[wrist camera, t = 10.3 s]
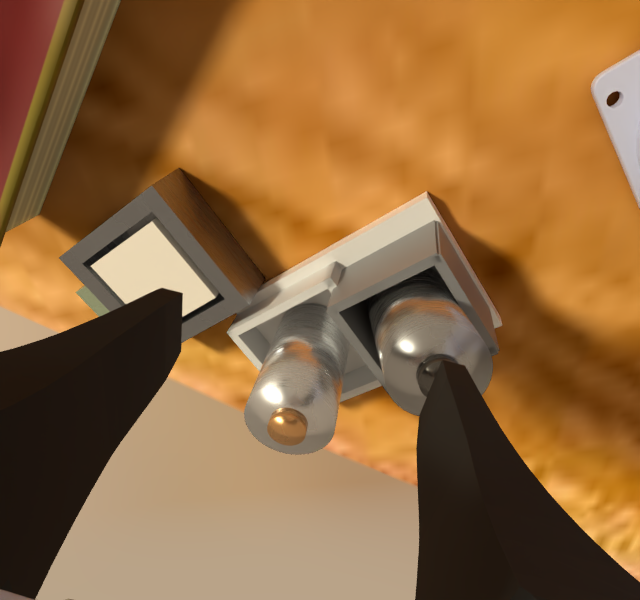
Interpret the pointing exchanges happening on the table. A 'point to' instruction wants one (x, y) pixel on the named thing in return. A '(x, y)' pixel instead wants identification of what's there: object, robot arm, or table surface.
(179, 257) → the pad
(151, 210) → the cradle
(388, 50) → the table surface
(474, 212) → the table surface
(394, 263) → the battery holder
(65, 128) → the hardcover book
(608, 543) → the table surface
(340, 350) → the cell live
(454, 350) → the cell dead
